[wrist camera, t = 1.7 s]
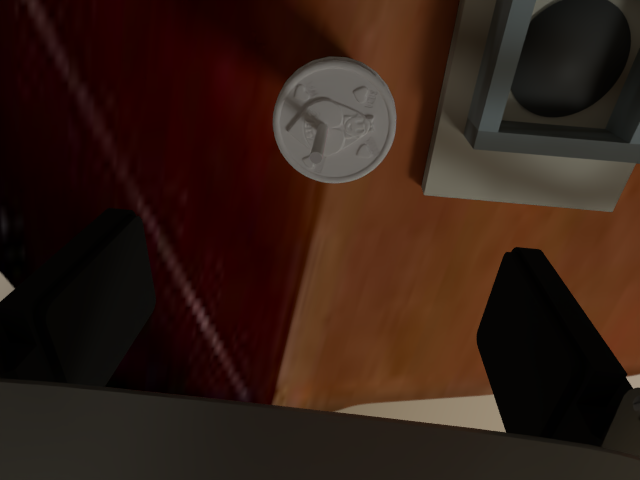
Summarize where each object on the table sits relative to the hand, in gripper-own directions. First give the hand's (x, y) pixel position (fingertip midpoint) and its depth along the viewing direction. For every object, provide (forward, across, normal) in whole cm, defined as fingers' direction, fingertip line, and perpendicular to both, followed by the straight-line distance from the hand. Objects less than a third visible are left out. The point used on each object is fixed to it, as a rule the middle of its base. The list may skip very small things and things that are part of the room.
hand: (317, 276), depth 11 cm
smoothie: (+22, 0, 0) cm, 22 cm away
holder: (+22, -14, -4) cm, 26 cm away
